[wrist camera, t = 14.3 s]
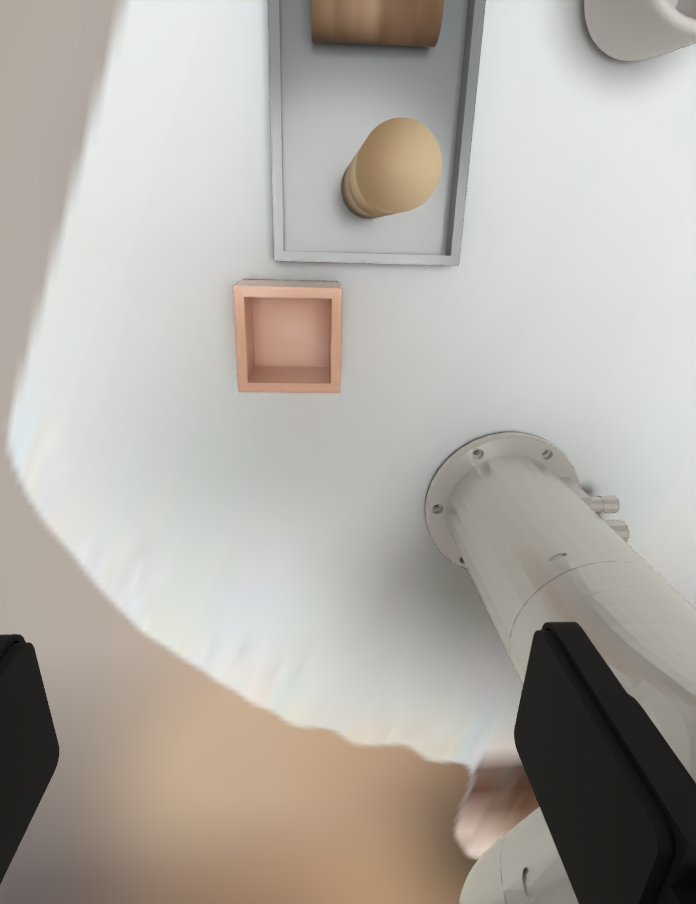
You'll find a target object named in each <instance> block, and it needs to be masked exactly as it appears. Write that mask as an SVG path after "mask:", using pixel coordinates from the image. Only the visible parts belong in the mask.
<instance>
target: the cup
mask: <svg viewBox="0 0 696 904" xmlns="http://www.w3.org/2000/svg"><path fill="white" fill-rule="evenodd" d="M584 13H585V20H586V24H587V28H588V31H589V33H590V35H591V38H592V39H593V41H594V43H595V44H596V45H597V46H598V47H599V49H600V50H602V51H603V52H604V53H605V54H607V55H609V56H610V57H612V58H615V59H618V60H623V61H640V60H644V59H649V58H652V57H655V56H659V55H662V54H665V53H668V52H671V51H674V50H677V49H680V48H683V47H686V46H689V45H692V44H695V43H696V0H584Z"/></svg>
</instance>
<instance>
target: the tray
mask: <svg viewBox="0 0 696 904" xmlns="http://www.w3.org/2000/svg"><path fill="white" fill-rule="evenodd" d="M485 3H486V0H444V9H443V17H442V24H441V29H440V34H439V38H438V41H437V44H436V46H435V47H422V46H398V45H374V44H350V43H327V42H312V19H311V0H268V25H269V67H270V108H271V150H272V191H273V233H274V261H300V262H338V263H376V264H414V265H452V266H459V261H460V251H461V241H462V231H463V221H464V211H465V202H466V192H467V182H468V172H469V162H470V152H471V142H472V132H473V122H474V112H475V102H476V93H477V83H478V73H479V63H480V53H481V43H482V33H483V23H484V13H485ZM398 117H405V118H411V119H414V120H416V121H418V122H420V123H422V124H423V125H425V126H426V127H427V128H428V129H429V130H430V131H431V132H432V134H433V135H434V137H435V138H436V140H437V143H438V145H439V148H440V152H441V158H442V169H441V175H440V179H439V182H438V184H437V187H436V189H435V190H434V192H433V194H432V195H431V196H430V197H429V199H428V200H427V201H426V202H424V203H423V204H422V205H421V206H419V207H417V208H415V209H413V210H410V211H407V212H402V213H397V214H392V215H387V216H382V217H377V218H372V219H366V218H361V217H358V216H356V215H355V214H353V213H352V212H351V211H350V210H349V209H348V208H347V206H346V205H345V203H344V200H343V198H342V193H341V182H342V178H343V175H344V173H345V171H346V169H347V167H348V166H349V164H350V163H351V161H352V160H353V158H354V157H355V155H356V154H357V152H358V151H359V149H360V148H361V146H362V145H363V143H364V141H365V140H366V138H367V137H368V135H369V134H370V133H371V132H372V130H373V129H375V128H376V127H377V126H378V125H379V124H381V123H382V122H384V121H386V120H389V119H392V118H398Z"/></svg>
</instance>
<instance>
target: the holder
mask: <svg viewBox="0 0 696 904" xmlns="http://www.w3.org/2000/svg"><path fill="white" fill-rule="evenodd" d="M233 294H234V313H235V332H236V351H237V370H238V389H239V392H298V393H340V374H341V329H342V287H341V285H340V284H339V282H338V281H306V280H264V279H243V280H242V281H240V282H238V283H237V284H235V285H234V286H233Z"/></svg>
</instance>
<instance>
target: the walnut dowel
mask: <svg viewBox="0 0 696 904" xmlns="http://www.w3.org/2000/svg"><path fill="white" fill-rule="evenodd" d="M443 9H444V0H311V19H312V42H327V43H350V44H374V45H398V46H422V47H435V46H436V44H437V41H438V38H439V34H440V29H441V24H442V17H443Z"/></svg>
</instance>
